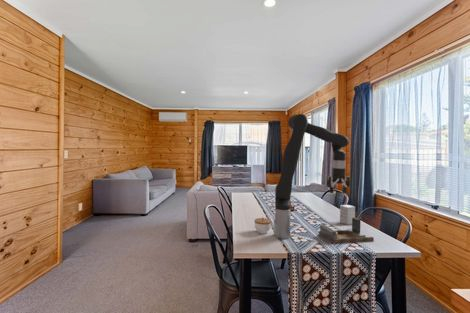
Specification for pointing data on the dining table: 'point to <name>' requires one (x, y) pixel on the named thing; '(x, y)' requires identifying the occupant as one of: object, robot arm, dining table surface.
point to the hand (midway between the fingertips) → (337, 193)
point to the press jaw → (355, 229)
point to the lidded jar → (262, 225)
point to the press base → (340, 236)
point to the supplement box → (347, 214)
